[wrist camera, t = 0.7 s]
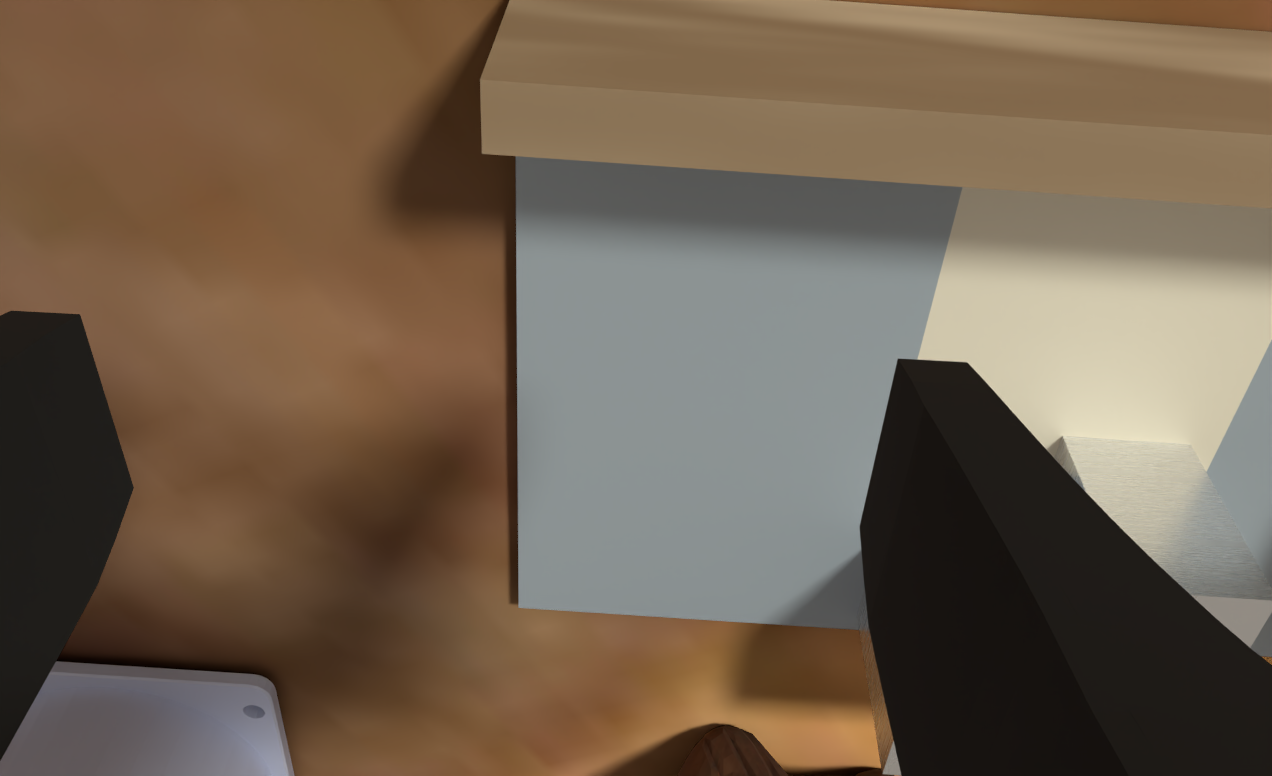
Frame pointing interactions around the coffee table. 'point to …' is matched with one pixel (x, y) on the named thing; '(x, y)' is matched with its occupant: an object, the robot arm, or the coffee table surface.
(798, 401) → the board
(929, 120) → the walls
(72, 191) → the coffee table surface
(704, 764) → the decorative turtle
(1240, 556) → the bracket
